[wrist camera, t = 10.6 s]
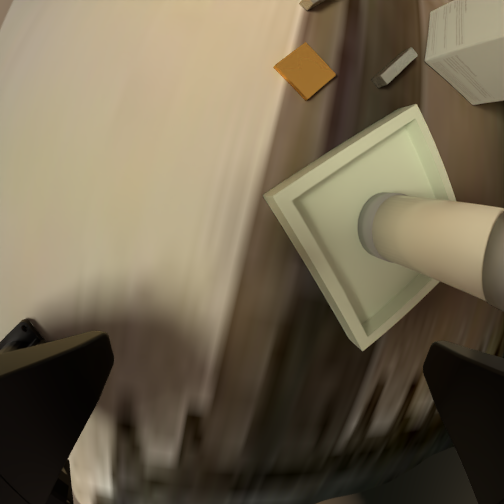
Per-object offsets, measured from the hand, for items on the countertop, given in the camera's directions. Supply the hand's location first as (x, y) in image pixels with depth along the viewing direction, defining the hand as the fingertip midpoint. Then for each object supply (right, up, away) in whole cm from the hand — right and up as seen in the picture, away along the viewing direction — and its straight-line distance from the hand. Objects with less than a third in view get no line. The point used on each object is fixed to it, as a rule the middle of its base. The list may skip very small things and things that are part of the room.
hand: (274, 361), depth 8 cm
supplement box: (+18, +21, +12) cm, 30 cm away
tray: (+9, +5, +13) cm, 17 cm away
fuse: (+9, +5, +13) cm, 16 cm away
